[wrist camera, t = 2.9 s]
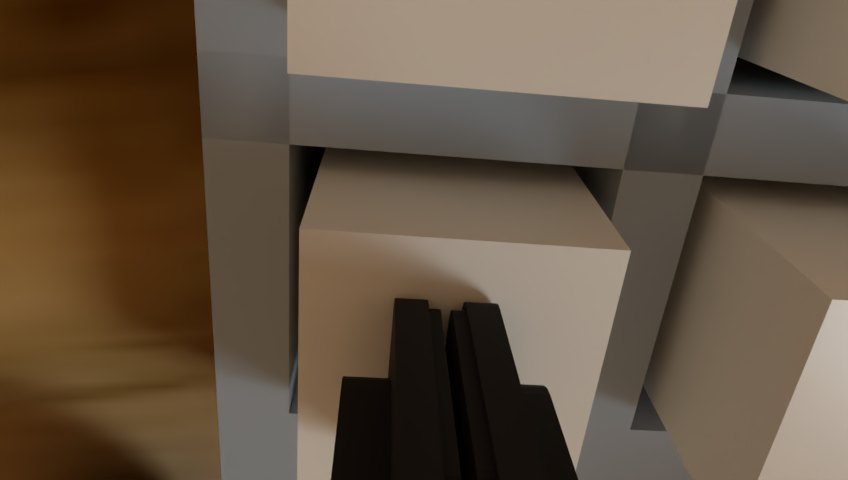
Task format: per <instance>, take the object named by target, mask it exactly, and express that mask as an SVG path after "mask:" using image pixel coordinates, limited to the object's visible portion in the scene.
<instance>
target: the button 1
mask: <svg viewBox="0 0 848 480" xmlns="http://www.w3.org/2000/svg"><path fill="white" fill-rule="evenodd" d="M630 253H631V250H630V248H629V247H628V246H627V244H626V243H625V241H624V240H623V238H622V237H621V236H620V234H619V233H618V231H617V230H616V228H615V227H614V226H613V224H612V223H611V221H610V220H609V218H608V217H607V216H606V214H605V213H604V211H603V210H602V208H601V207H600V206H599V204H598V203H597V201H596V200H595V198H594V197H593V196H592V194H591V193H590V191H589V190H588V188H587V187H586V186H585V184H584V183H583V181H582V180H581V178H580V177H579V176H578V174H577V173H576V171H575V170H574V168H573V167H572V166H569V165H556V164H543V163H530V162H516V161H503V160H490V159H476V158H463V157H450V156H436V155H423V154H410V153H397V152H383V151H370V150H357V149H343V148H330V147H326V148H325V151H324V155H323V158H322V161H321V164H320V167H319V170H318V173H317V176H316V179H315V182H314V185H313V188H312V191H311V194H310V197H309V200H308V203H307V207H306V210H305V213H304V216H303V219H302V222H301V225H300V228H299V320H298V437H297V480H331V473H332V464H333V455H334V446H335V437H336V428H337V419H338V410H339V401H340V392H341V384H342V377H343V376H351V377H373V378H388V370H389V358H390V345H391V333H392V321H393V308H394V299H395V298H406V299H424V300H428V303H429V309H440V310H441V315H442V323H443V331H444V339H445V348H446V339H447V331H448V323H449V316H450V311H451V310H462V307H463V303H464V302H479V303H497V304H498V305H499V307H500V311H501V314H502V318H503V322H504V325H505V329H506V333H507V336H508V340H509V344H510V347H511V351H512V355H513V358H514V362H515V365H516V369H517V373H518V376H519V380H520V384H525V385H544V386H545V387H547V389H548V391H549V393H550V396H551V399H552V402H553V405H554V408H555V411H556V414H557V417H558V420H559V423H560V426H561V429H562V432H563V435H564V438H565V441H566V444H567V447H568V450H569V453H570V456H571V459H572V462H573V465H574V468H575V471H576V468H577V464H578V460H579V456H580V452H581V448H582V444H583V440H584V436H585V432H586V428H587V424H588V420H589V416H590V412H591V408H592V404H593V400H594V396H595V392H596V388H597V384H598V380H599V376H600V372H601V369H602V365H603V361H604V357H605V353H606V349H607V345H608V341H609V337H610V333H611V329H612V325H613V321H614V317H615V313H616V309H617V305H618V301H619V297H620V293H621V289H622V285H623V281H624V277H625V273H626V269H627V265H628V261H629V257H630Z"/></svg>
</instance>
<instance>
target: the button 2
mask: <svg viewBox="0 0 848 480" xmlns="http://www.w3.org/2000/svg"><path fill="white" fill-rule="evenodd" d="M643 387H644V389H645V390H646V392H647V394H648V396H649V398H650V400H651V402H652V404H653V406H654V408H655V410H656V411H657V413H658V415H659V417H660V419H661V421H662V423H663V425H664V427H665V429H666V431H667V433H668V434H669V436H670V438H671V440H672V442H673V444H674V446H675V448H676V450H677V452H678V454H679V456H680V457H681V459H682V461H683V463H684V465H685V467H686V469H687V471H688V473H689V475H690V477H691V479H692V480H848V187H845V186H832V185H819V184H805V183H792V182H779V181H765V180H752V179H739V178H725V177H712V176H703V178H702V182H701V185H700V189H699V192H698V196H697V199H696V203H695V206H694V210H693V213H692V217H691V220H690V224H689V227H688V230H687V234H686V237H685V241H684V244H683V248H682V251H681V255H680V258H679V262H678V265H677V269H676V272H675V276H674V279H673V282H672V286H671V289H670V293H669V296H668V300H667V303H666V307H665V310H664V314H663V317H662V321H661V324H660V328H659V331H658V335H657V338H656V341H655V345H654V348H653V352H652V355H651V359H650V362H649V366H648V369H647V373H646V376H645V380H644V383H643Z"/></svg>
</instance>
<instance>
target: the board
mask: <svg viewBox="0 0 848 480" xmlns="http://www.w3.org/2000/svg"><path fill="white" fill-rule="evenodd" d="M753 2H754V0H738V1H737V5H736V8H735V12H734V16H733V19H732V23H731V26H730V30H729V34H728V37H727V41H726V44H725V48H724V51H723V55H722V59H721V62H720V66H719V69H718V73H717V77H716V80H715V84H714V87H713V91H712V95H711V98H710V102H709V105H708V108H700V107H688V106H676V105H664V104H652V103H640V102H627V101H615V100H603V99H591V98H579V97H567V96H555V95H542V94H530V93H518V92H506V91H494V90H482V89H470V88H457V87H445V86H433V85H421V84H409V83H397V82H385V81H373V80H360V79H348V78H336V77H324V76H312V75H300V74H288V73H287V0H194V10H195V27H196V45H197V62H198V79H199V97H200V114H201V131H202V148H203V166H204V183H205V200H206V218H207V235H208V252H209V270H210V287H211V304H212V321H213V339H214V356H215V373H216V391H217V408H218V425H219V443H220V460H221V477H222V480H297V437H298V320H299V228H300V225H301V222H302V219H303V216H304V213H305V210H306V207H307V203H308V200H309V197H310V194H311V191H312V188H313V185H314V146H317V147H330V148H343V149H357V150H370V151H383V152H397V153H410V154H423V155H436V156H450V157H463V158H476V159H490V160H503V161H516V162H530V163H543V164H556V165H569V166H572V167H573V168H574V170H575V171H576V173H577V174H578V176H579V177H580V178H581V180H582V181H583V183H584V184H585V186H586V187H587V188H588V190H589V191H590V193H591V194H592V196H593V197H594V198H595V200H596V201H597V203H598V204H599V206H600V207H601V208H602V210H603V211H604V213H605V214H606V216H607V217H608V218H609V220H610V221H611V223H612V224H613V226H614V227H615V228H616V230H617V231H618V233H619V234H620V236H621V237H622V238H623V240H624V241H625V243H626V244H627V246H628V247H629V248H630V250H631V253H630V257H629V261H628V265H627V269H626V273H625V277H624V281H623V285H622V289H621V293H620V297H619V301H618V305H617V309H616V313H615V317H614V321H613V325H612V329H611V333H610V337H609V341H608V345H607V349H606V353H605V357H604V361H603V365H602V369H601V372H600V376H599V380H598V384H597V388H596V392H595V396H594V400H593V404H592V408H591V412H590V416H589V420H588V424H587V428H586V432H585V436H584V440H583V444H582V448H581V452H580V456H579V460H578V464H577V468H576V474H577V477H578V480H692V479H691V477H690V475H689V473H688V471H687V469H686V467H685V465H684V463H683V461H682V459H681V457H680V456H679V454H678V452H677V450H676V448H675V446H674V444H673V442H672V440H671V438H670V436H669V434H668V433H667V431H666V429H665V427H664V425H663V423H662V421H661V419H660V417H659V415H658V413H657V411H656V410H655V408H654V406H653V404H652V402H651V400H650V398H649V396H648V394H647V392H646V390H645V389H644V387H643V383H644V380H645V376H646V373H647V369H648V366H649V362H650V359H651V355H652V352H653V348H654V345H655V341H656V338H657V335H658V331H659V328H660V324H661V321H662V317H663V314H664V310H665V307H666V303H667V300H668V296H669V293H670V289H671V286H672V282H673V279H674V276H675V272H676V269H677V265H678V262H679V258H680V255H681V251H682V248H683V244H684V241H685V237H686V234H687V230H688V227H689V224H690V220H691V217H692V213H693V210H694V206H695V203H696V199H697V196H698V192H699V189H700V185H701V182H702V178H703V176H716V177H729V178H742V179H756V180H769V181H782V182H796V183H809V184H822V185H836V186H848V101H846V100H843V99H841V98H838V97H836V96H833V95H831V94H828V93H826V92H824V91H821V90H819V89H816V88H814V87H811V86H809V85H806V84H804V83H801V82H799V81H796V80H794V79H791V78H789V77H786V76H784V75H781V74H779V73H776V72H774V71H772V70H769V69H767V68H764V67H762V66H759V65H757V64H754V63H752V62H749V61H740V60H737V57H738V54H739V50H740V47H741V43H742V40H743V36H744V33H745V29H746V26H747V22H748V19H749V15H750V12H751V8H752V5H753Z"/></svg>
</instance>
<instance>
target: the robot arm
mask: <svg viewBox="0 0 848 480" xmlns="http://www.w3.org/2000/svg"><path fill="white" fill-rule="evenodd" d="M331 480H578V477H577V474H576V471H575V468H574V465H573V462H572V459H571V456H570V453H569V450H568V447H567V444H566V441H565V438H564V435H563V432H562V429H561V426H560V423H559V420H558V417H557V414H556V411H555V408H554V405H553V402H552V399H551V396H550V393H549V391H548V389H547V387H545V386H544V385H525V384H520V380H519V376H518V373H517V369H516V365H515V362H514V358H513V355H512V351H511V347H510V344H509V340H508V336H507V333H506V329H505V325H504V322H503V318H502V314H501V311H500V307H499V305H498V304H497V303H479V302H464V303H463V307H462V310H451V311H450V316H449V323H448V331H447V339H446V348H445V339H444V331H443V323H442V315H441V310H440V309H429V303H428V300H424V299H406V298H395V299H394V308H393V321H392V333H391V345H390V358H389V370H388V378H373V377H351V376H343V377H342V384H341V392H340V401H339V410H338V419H337V428H336V437H335V446H334V455H333V464H332V473H331Z"/></svg>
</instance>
